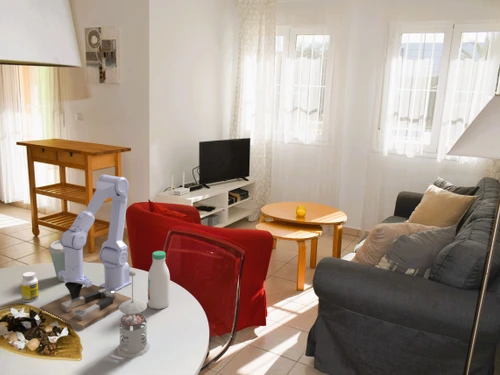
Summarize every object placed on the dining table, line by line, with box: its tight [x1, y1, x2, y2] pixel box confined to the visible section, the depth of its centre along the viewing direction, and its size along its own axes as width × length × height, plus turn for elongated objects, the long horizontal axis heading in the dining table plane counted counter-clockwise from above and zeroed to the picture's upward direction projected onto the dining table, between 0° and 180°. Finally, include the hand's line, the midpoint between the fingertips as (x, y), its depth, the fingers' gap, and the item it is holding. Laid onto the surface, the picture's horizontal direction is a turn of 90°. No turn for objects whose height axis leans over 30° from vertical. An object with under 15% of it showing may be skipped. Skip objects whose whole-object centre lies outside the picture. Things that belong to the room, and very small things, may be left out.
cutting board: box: [39, 283, 132, 331], centre depth 149 cm, size 22×21×2 cm
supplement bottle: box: [20, 271, 39, 303], centre depth 152 cm, size 5×5×10 cm
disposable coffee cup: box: [48, 239, 65, 282], centre depth 168 cm, size 11×11×15 cm
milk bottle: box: [147, 250, 171, 310], centre depth 151 cm, size 8×8×20 cm
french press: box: [116, 270, 151, 359], centre depth 125 cm, size 10×12×25 cm
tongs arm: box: [61, 288, 117, 313], centre depth 148 cm, size 18×6×2 cm, turn 139°
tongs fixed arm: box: [74, 297, 113, 320], centre depth 144 cm, size 14×4×2 cm, turn 152°
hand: (75, 300), depth 148 cm, fingers closed
